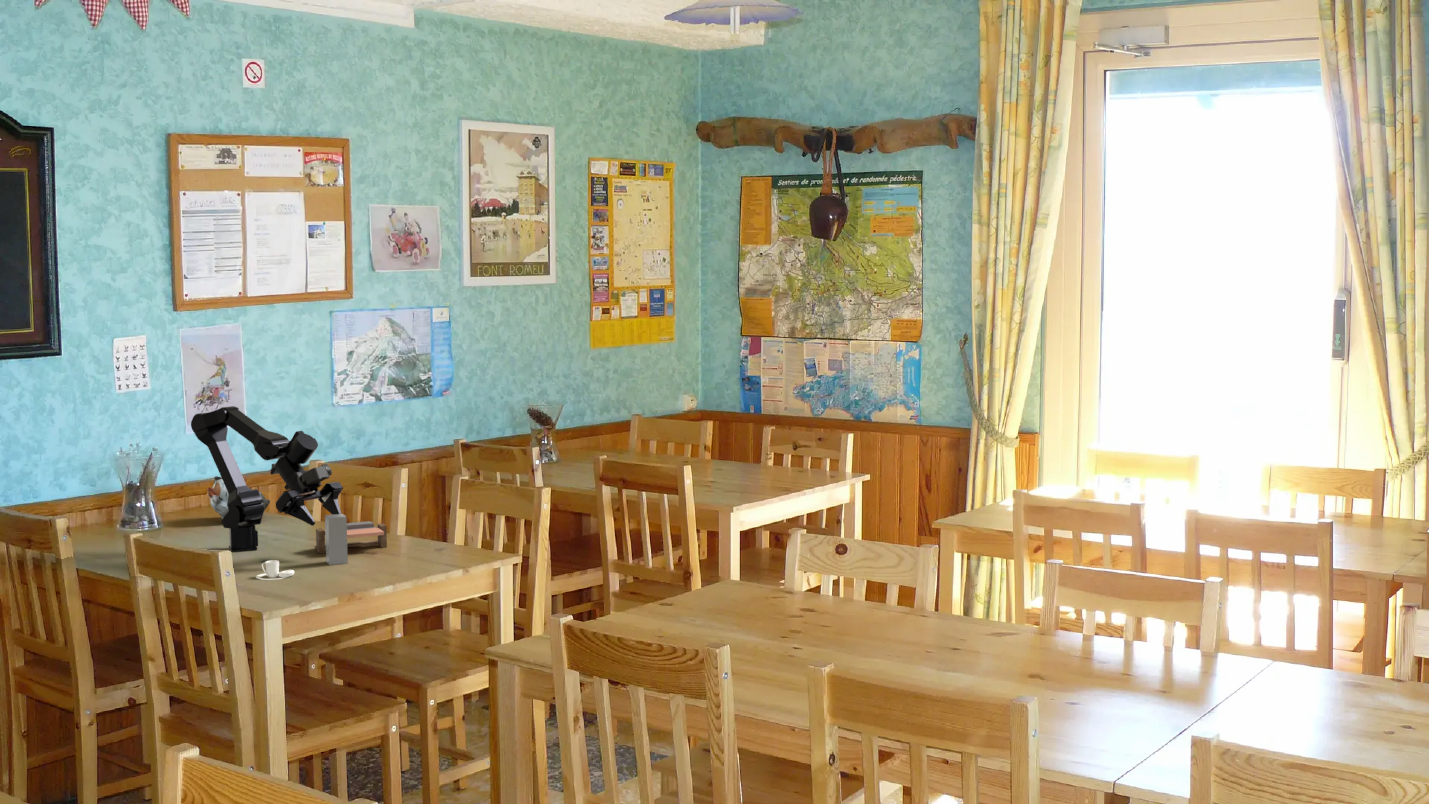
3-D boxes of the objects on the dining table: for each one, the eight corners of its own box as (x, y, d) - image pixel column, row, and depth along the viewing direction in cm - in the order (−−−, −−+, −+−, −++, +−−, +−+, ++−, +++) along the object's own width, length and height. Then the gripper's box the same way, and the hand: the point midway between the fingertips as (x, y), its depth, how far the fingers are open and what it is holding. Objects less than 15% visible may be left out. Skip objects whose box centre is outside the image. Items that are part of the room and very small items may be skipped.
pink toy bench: (319, 553, 351) (318, 531, 351) (314, 548, 357) (314, 527, 357) (386, 547, 359) (386, 525, 359) (381, 542, 365) (380, 521, 365)
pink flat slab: (329, 543, 347) (329, 532, 347) (321, 536, 357) (321, 525, 357) (384, 538, 354) (383, 527, 353) (374, 531, 363) (374, 520, 363)
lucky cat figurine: (256, 525, 390) (227, 480, 385) (218, 541, 393) (189, 497, 388) (278, 499, 405) (250, 456, 401) (242, 515, 408) (214, 472, 404)
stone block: (329, 565, 337) (328, 518, 336) (326, 561, 341) (324, 515, 340) (347, 563, 339) (346, 516, 338) (344, 560, 343) (342, 513, 342)
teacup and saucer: (299, 577, 326) (299, 560, 325) (273, 583, 319) (273, 566, 318) (274, 573, 330) (274, 556, 330) (248, 579, 323) (248, 562, 323)
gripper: (281, 459, 334) (315, 506, 329) (336, 450, 350) (369, 495, 345) (260, 488, 338) (293, 535, 334) (315, 478, 354) (348, 523, 350)
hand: (327, 521), depth 341 cm, fingers open, 9 cm apart
